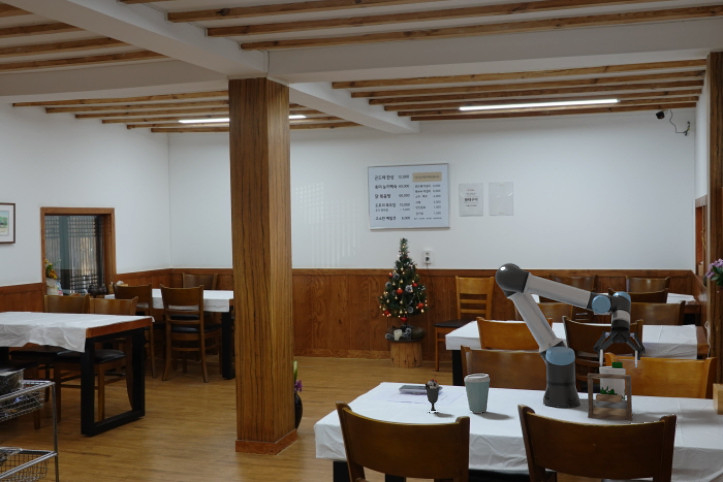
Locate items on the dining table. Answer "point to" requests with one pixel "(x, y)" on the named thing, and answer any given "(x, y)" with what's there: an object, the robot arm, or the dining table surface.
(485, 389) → the disposable coffee cup
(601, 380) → the soya milk
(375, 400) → the dining table surface
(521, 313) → the robot arm
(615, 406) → the offcut rack
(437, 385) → the sundae
